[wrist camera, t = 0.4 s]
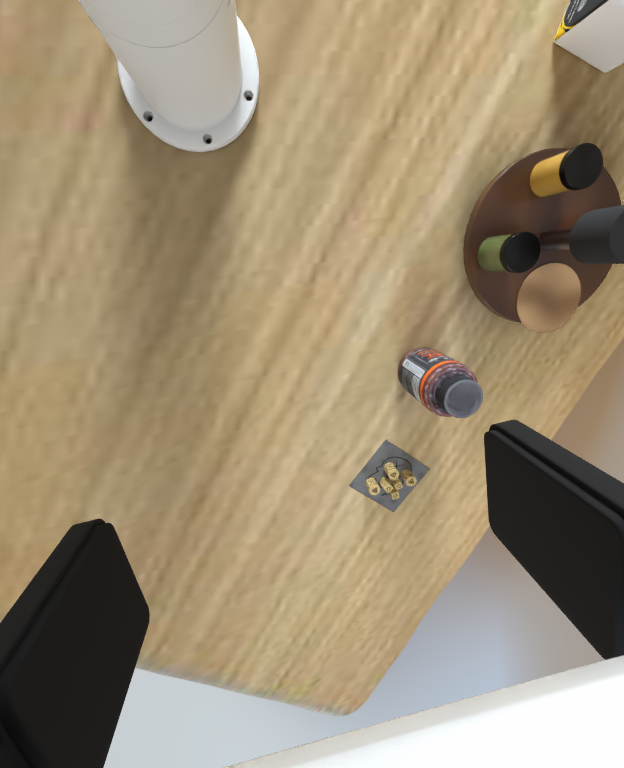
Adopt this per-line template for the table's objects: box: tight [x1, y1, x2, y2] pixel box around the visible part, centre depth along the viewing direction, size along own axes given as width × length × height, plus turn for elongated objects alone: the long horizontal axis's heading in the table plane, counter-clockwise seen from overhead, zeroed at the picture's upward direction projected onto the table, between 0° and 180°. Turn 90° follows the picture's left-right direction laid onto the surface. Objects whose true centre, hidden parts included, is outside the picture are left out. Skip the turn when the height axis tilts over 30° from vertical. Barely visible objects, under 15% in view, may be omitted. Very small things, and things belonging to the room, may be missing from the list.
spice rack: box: [464, 143, 624, 333], centre depth 38 cm, size 19×18×12 cm
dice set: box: [365, 462, 418, 500], centre depth 51 cm, size 5×5×2 cm
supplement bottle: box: [398, 348, 483, 418], centre depth 42 cm, size 6×6×11 cm
